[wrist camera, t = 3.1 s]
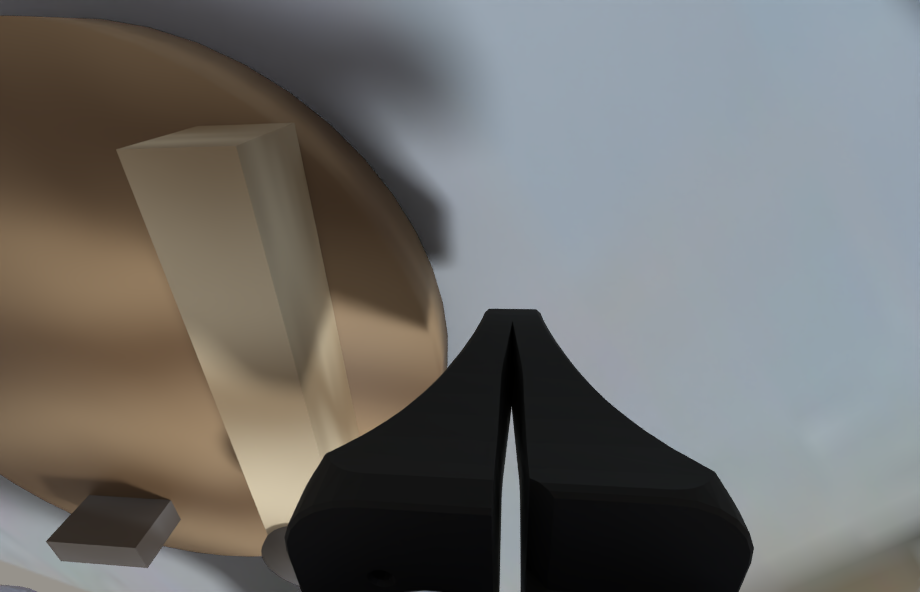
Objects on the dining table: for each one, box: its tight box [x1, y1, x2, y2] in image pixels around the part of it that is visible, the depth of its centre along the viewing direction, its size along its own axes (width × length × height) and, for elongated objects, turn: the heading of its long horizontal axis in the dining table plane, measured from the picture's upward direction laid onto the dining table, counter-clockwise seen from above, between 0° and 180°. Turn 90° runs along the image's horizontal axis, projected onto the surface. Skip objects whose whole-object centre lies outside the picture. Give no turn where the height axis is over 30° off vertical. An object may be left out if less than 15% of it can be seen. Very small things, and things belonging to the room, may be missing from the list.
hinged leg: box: [116, 123, 359, 586], centre depth 13 cm, size 14×3×3 cm, turn 3°
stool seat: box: [0, 16, 448, 568], centre depth 15 cm, size 20×20×4 cm
